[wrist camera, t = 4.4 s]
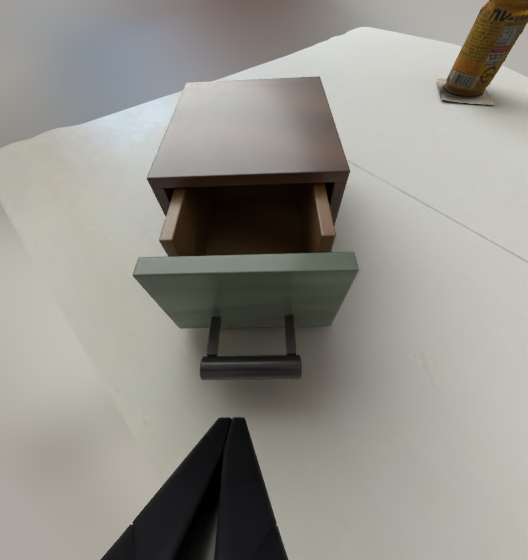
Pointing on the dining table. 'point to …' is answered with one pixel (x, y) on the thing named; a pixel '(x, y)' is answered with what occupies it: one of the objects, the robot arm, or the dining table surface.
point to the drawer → (249, 269)
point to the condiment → (484, 51)
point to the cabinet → (251, 138)
